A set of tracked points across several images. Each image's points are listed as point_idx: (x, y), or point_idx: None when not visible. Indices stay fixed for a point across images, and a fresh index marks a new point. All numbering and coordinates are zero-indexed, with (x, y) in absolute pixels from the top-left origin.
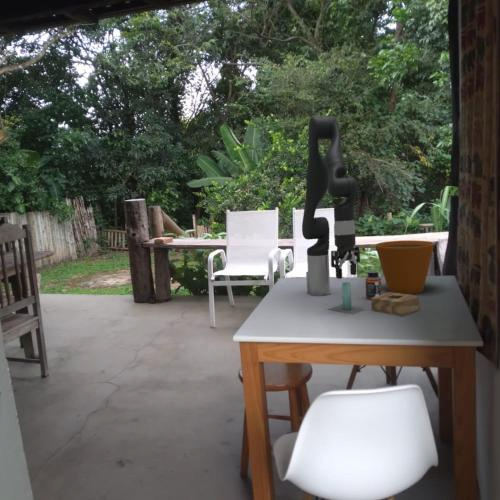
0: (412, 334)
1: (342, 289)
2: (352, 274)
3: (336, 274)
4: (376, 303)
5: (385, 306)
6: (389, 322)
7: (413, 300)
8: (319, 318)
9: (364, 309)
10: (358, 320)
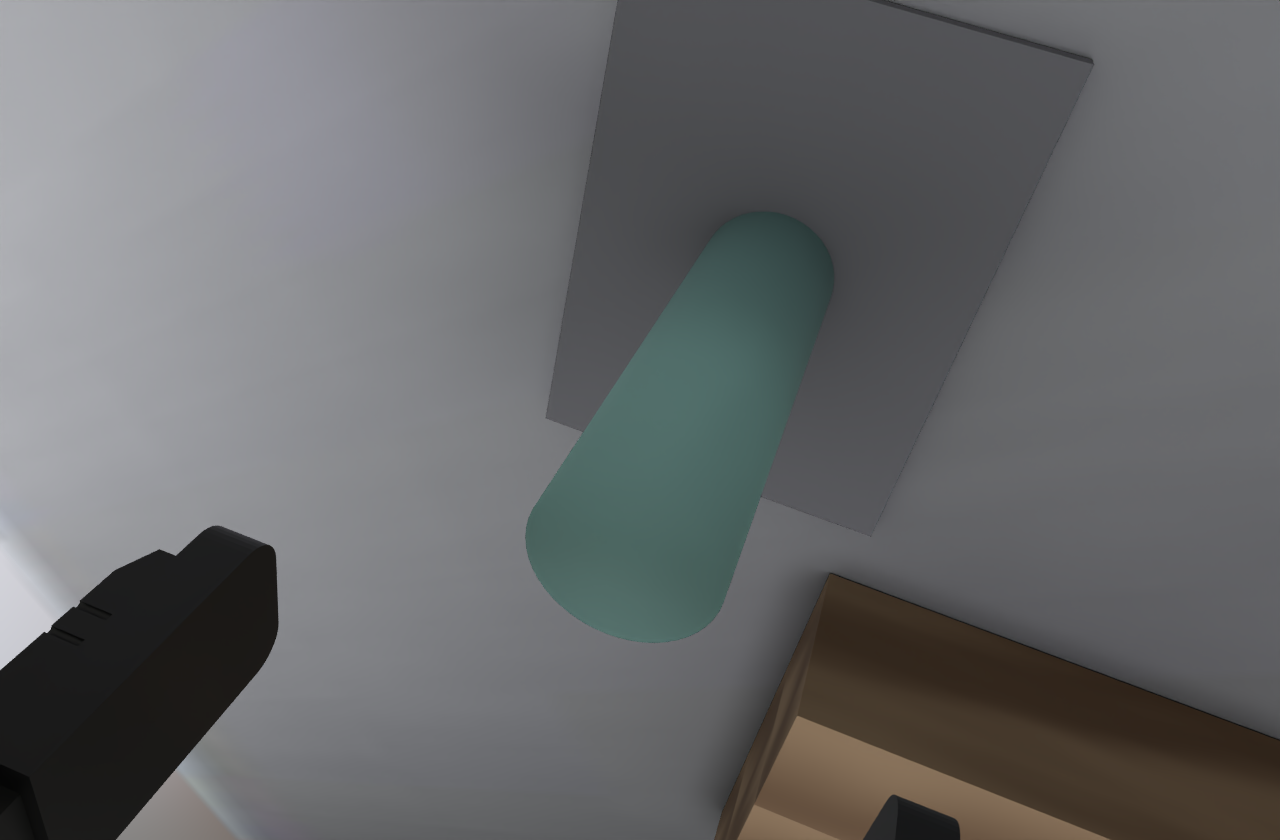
0: (323, 835)
1: (611, 400)
2: (874, 830)
3: (85, 617)
4: (783, 712)
5: (750, 775)
6: (496, 731)
7: None
8: (216, 34)
9: (841, 500)
10: (410, 498)
